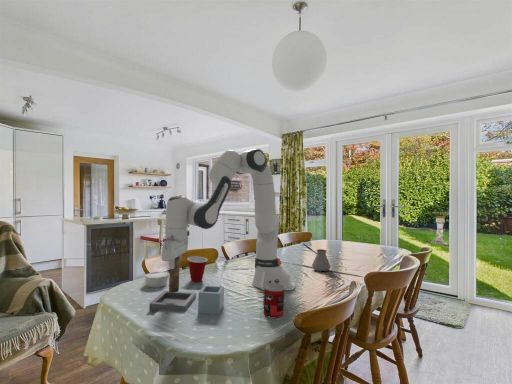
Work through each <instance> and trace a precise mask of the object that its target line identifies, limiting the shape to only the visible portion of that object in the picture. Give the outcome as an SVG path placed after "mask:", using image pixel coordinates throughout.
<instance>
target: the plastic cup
mask: <svg viewBox="0 0 512 384" xmlns="http://www.w3.org/2000/svg"><path fill="white" fill-rule="evenodd" d="M208 260H209V259H208V258H206V257H203V256H198V255H197V256H196V255H195V256H190V257H187V261H188V268H189V275H190V281H191V282H193V283H199V282H200V283H201V282H202V281H203V279H204V274H205V269H206V264H207V262H208Z"/></svg>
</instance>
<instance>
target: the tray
mask: <svg viewBox="0 0 512 384" xmlns="http://www.w3.org/2000/svg"><path fill="white" fill-rule="evenodd" d="M196 298H197V292H192V291H191V292H189V291H178V292H169V290H163V292H162V293H161V292H160V294H159V295H158V296H157V297H155V298H154V299H153V300H152V301H150V303H149V309H148V310H149V312H159V311H160V310H161V311H162V310H163V311H165V310H166V311H179V312H185V311H186V310H187V309H188V308H189V307H190V305H191V304H192V303H193V302H194V301H195V300H196Z"/></svg>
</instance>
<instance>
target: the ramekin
mask: <svg viewBox="0 0 512 384" xmlns="http://www.w3.org/2000/svg"><path fill="white" fill-rule="evenodd" d="M168 277H169V273H168V272H166V271H152V272H149V273H146V274H145V276H144V278H145V282H146V283H145V284H146V286H147V287H149V288H162V287H164V286H166V285H167V283H168V279H169V278H168Z"/></svg>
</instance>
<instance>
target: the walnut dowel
mask: <svg viewBox="0 0 512 384" xmlns="http://www.w3.org/2000/svg"><path fill="white" fill-rule="evenodd" d="M174 263H175V268H174V269H170V268H169V273H168V277H169V278H168V282H169V283H168V291H169V292H180V291H179V290H180V289H179V288H180V267H181V259H180V257H176V258H175V261H174Z"/></svg>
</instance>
